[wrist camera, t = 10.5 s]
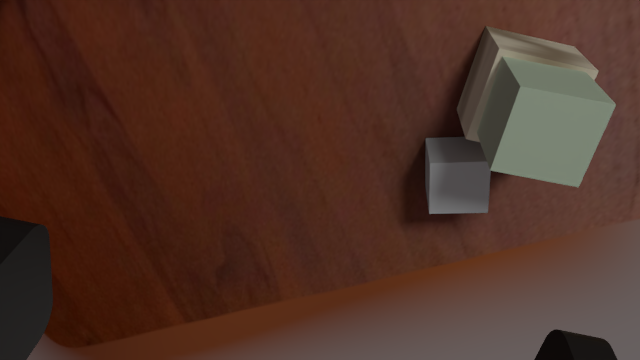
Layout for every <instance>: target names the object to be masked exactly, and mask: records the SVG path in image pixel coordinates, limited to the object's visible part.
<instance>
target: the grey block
mask: <svg viewBox="0 0 640 360" xmlns="http://www.w3.org/2000/svg"><path fill="white" fill-rule="evenodd" d="M490 174H491V171H490V169H489V166H488V163H487V160H486V157H485V154H484V152H483V149H482V146H481V143H480V142H476V141H472V140H468V139H466V138H465V137H443V138H426V152H425V188H426V195H427V202H428V209H429V214H449V213H488V203H489V189H490Z"/></svg>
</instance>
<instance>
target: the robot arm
mask: <svg viewBox="0 0 640 360" xmlns="http://www.w3.org/2000/svg"><path fill="white" fill-rule="evenodd" d="M52 301H53V297H52V279H51V261H50V243H49V233H48V230H47V228H46V227H45V226H44V225H41V224H36V223H31V222H26V221H21V220H16V219H11V218H6V217H1V216H0V360H26V359H27V358H28V356H29V355H30V353H31V352H32V350H33V349H34V348H35V345H37V343H38V342H39V340H40V338H41V337H42V335H43V333H44V331H45V329H46V327H47V324H48V321H49V318H50V314H51V309H52ZM535 360H617V358H616V356H615V354H614V352H613V349H612V348H611V346H610V344H609V343H608V342H607V341H606V340H604V339H601V338H596V337H592V336H587V335H582V334H577V333H572V332H567V331H562V330H553V331H551V332H550V333H549V334H548V335H547V337H546V339H545V340H544V342H543V344H542V346H541V348H540V350H539V352H538V354H537V356H536V358H535Z"/></svg>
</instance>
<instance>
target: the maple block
mask: <svg viewBox="0 0 640 360" xmlns="http://www.w3.org/2000/svg"><path fill="white" fill-rule="evenodd" d="M502 56H504V57H510V58H515V59H520V60H525V61H530V62H536V63H541V64H546V65H551V66H557V67H562V68H567V69H572V70H577V71H583V72H586V73H587V74H588V75H589V76H590V77H591V78H592V79H593V80H595V78H596V76H597V74H598V72H599V71H598V70H597V69H596V68H595V67H594V66H593V65H592V64H591V63H590V62H589V61H588V60H587V59H586V58H585V57H584V56H583V55H582V54H581V53H580V52H579V51H578V50H577V49H576V48H575V47H574V46H569V45H565V44H561V43H556V42H552V41H548V40H543V39H539V38H535V37H530V36H526V35H522V34H518V33H513V32H509V31H505V30H500V29H496V28H492V27H487V26H486V27H485V29H484V32H483V35H482V38H481V41H480V44H479V46H478V49H477V52H476V55H475V58H474V61H473V64H472V66H471V69H470V72H469V75H468V78H467V81H466V83H465V86H464V89H463V92H462V95H461V98H460V101H459V103H458V106H457V113H458V116H459V119H460V122H461V125H462V129H463V132H464V135H465V138H466V139H468V140H472V141H476V142H480V140H479V137H478V134H477V130H478V127H479V124H480V121H481V118H482V115H483V112H484V109H485V106H486V103H487V100H488V97H489V94H490V91H491V88H492V85H493V83H494V80H495V77H496V74H497V71H498V68H499V65H500V62H501V59H502Z"/></svg>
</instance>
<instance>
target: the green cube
mask: <svg viewBox="0 0 640 360" xmlns="http://www.w3.org/2000/svg"><path fill="white" fill-rule="evenodd" d="M615 106H616V104H615V103H614V102H613V101H612V100H611V98H610V97H609V96H608V95H607V94H606V93H605V92H604V91H603V90H602V89H601V88H600V87H599V86H598V84H597V83H596V82H595V81H594V80H593V79H592V78H591V77H590V76H589V75H588V74H587V73H586V72H583V71H577V70H572V69H567V68H562V67H557V66H551V65H546V64H541V63H536V62H530V61H525V60H520V59H515V58H510V57H504V56H502V59H501V62H500V65H499V68H498V71H497V74H496V77H495V80H494V83H493V85H492V88H491V91H490V94H489V97H488V100H487V103H486V106H485V109H484V112H483V115H482V118H481V121H480V124H479V127H478V130H477V134H478V137H479V140H480V143H481V146H482V149H483V152H484V154H485V157H486V160H487V163H488V166H489V169H490V171H496V172H501V173H506V174H511V175H517V176H522V177H527V178H532V179H538V180H543V181H548V182H554V183H559V184H564V185H569V186H575V187H579V185H580V183H581V181H582V179H583V177H584V174H585V172H586V170H587V168H588V166H589V163H590V161H591V159H592V157H593V154H594V152H595V150H596V148H597V146H598V143H599V141H600V139H601V137H602V135H603V132H604V130H605V128H606V126H607V124H608V121H609V119H610V117H611V115H612V113H613V110H614V108H615Z"/></svg>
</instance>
